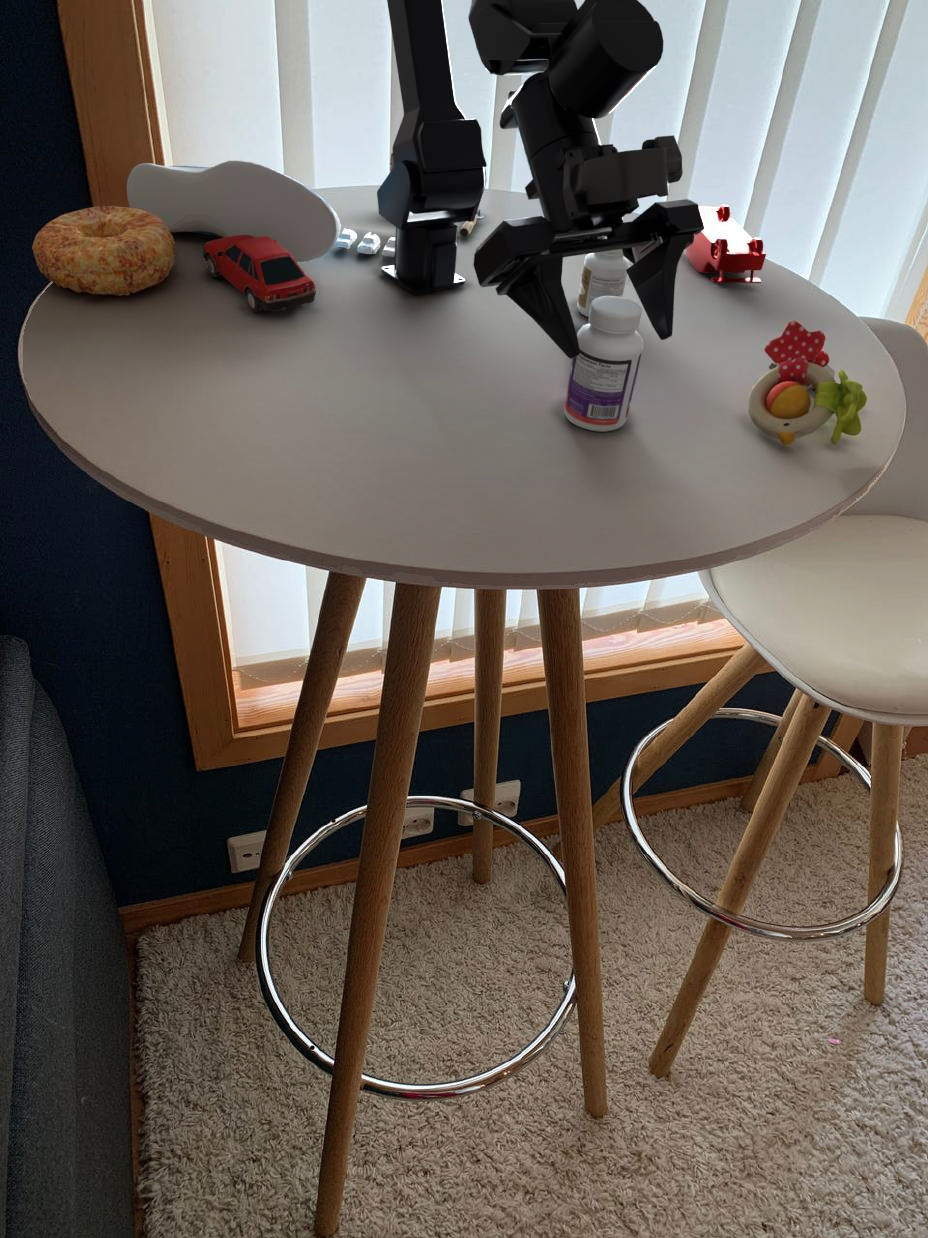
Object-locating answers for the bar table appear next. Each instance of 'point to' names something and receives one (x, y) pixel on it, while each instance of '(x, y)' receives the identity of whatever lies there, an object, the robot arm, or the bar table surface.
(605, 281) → the pill bottle
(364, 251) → the toy vehicle set
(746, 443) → the bar table surface
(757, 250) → the toy car
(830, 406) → the bird rattle
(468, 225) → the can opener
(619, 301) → the pill bottle
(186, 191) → the shoe
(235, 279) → the toy car
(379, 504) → the bar table surface
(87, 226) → the bagel
